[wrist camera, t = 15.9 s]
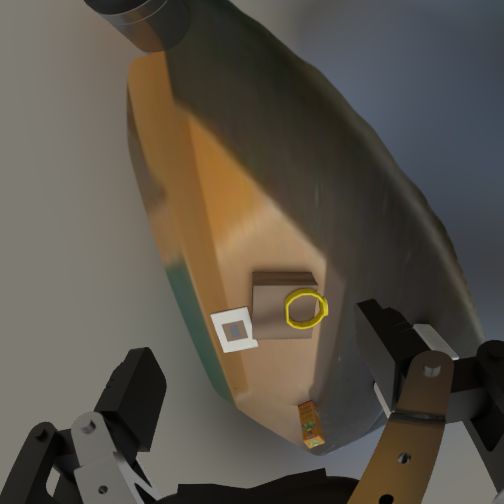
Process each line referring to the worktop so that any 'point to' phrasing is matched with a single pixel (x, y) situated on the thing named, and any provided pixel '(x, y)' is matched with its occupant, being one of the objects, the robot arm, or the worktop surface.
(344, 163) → the worktop surface
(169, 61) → the worktop surface
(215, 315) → the card
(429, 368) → the robot arm
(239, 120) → the worktop surface
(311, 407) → the supplement box
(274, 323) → the walnut block
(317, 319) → the watch
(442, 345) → the skincare box
